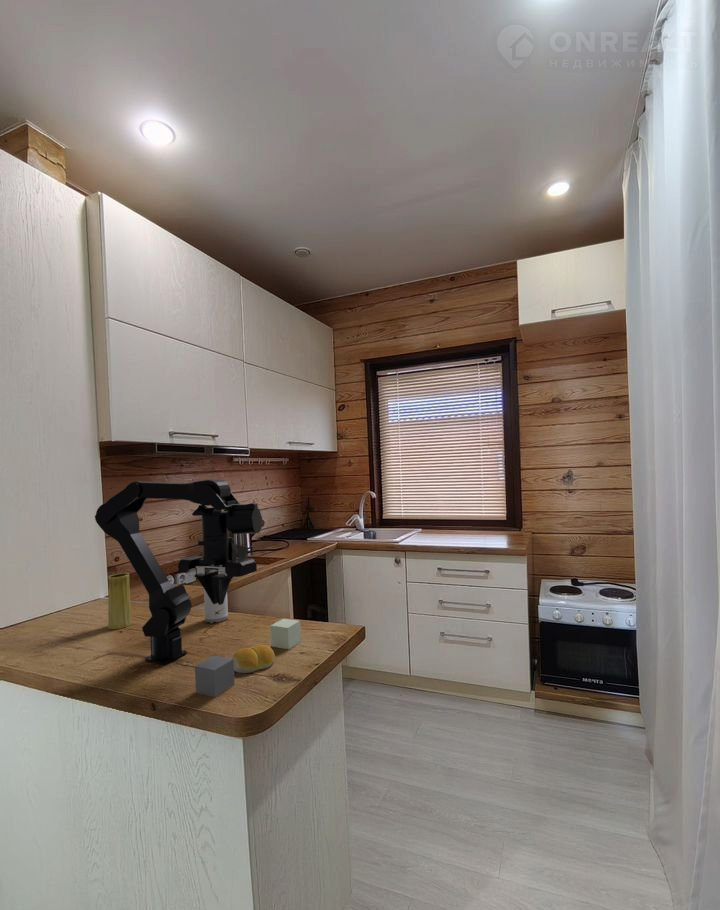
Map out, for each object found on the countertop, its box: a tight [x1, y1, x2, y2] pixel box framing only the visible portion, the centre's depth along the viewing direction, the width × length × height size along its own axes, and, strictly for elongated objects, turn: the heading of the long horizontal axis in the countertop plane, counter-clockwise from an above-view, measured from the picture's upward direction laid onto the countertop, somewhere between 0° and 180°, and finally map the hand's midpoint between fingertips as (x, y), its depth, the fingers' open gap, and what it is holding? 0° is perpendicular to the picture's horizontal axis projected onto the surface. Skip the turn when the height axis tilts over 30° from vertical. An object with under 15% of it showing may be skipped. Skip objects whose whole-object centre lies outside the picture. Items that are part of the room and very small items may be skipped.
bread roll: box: [231, 644, 276, 674], centre depth 95 cm, size 8×9×4 cm
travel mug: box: [203, 565, 229, 624], centre depth 126 cm, size 6×7×20 cm
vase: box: [107, 572, 133, 630], centre depth 125 cm, size 6×6×14 cm
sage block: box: [270, 618, 302, 650], centre depth 105 cm, size 5×5×5 cm
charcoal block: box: [194, 655, 235, 698], centre depth 84 cm, size 5×5×5 cm
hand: (218, 604), depth 99 cm, fingers closed
